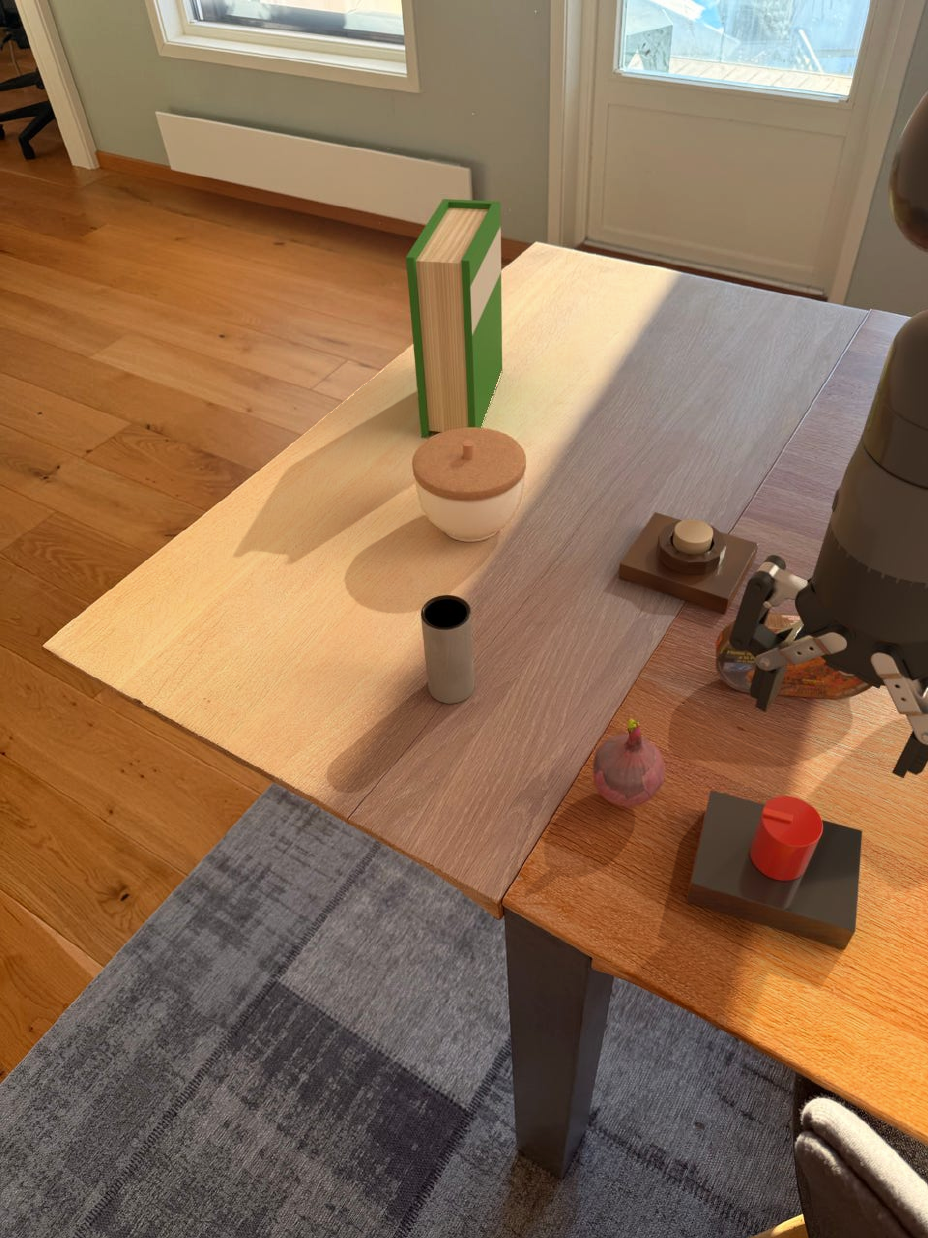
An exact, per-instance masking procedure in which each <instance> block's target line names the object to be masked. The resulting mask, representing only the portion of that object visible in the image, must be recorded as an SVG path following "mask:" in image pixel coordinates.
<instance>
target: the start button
mask: <svg viewBox="0 0 928 1238" xmlns="http://www.w3.org/2000/svg"><path fill="white" fill-rule="evenodd" d="M682 520H683V521H681V522H679V523H678V524H677V525H676V526H675V529H674V535H673V545H674V547H675V548H676V549H677V550H678V551H680V552H683V553H686V554H689V555H699V554H703V553H706V552H707V551H708V550H709V549H710V547H711V542H712V537H713V530H712V528H711V527H710V526H709V525H708V524H709V523H707V522H705V521H703V520H701V519H696V518H695V519H694V518H689V519H682Z"/></svg>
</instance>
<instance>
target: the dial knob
mask: <svg viewBox="0 0 928 1238" xmlns="http://www.w3.org/2000/svg"><path fill="white" fill-rule="evenodd" d="M822 820H823V819H822V817H821V815H820V813H819V812H818V811H817V809H815V807H814V806H813V805H812V804H810V803H809V802H807V801H806V800H804V799H802V798H798V797H795V796H791V795H782V796H777V797H774V798H771V799H770V800H768V801H767V802H766V803H765V806H764V808H763V810H762V813H761V816H760V819H759V821H758V824H757V827H756V830H755V833H754V836H753V839H752V842H751V845H750V856H751V859H752V861H753V863H754V865H755V866H756V867H757V869H758V870H759V871H761V872H762V873H763V874H764V875H766V876H768V877H770V878H772V879H775V880H780V881H790V880H794V879H797V878H798V877H800V876H801V875H803V873H804V872H805V871H806V869H807V867H808V864H809V862H810V860H811V858H812V855H813V853H814V851H815V849H816V846H817V844H818V842H819V840H820V837H821V835H822V832H823V823H822Z"/></svg>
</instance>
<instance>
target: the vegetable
mask: <svg viewBox="0 0 928 1238" xmlns="http://www.w3.org/2000/svg"><path fill="white" fill-rule="evenodd" d="M627 724H628V727H627V732H628V733H622V734H620V733H619V734H616V735H613V736H610V737H608V738H607V739H605V740H604V741H603V742H602V743H601V744H600V745H599V746H598V747H597V748H596V751H595V753H594V756H593V760H592V777H593V782H594V784H595V787H596V789H597V792H598V793H599V794H600V795H601V796H602V797H603V798H604V800H606V801H608V802H610V803H611V804H613V805H617V806H619V807H627V808H628V807H629V808H631V807H637V806H640V805H644V804H645V803H647V802H649V801H650V800H652V799H653V798H654V797H655V796H656V795H657V793H658V792H659V791H660V789H661V788H662V787H663V784H664V782H665V778H666V765H665V761H664V759H663V755H662V753H661V751H660V750H659V748H658V747H657V746H656V745H655V744H654V742H652V741H650V740H649V739H647V738H646V737H643V736H642V731H641V726H640V722H639V721H637V722H636V720H634V719H633V718H629V719H628V721H627Z"/></svg>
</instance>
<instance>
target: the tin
mask: <svg viewBox="0 0 928 1238" xmlns="http://www.w3.org/2000/svg"><path fill="white" fill-rule="evenodd" d="M800 619H801V618H800V616H799V614H791V613H790V614H789V613H775V612H769V615H768V617H767V620H766V623H765V626H766V627H768V628H769V629H770V630H772V631H773V632H776V631H778V630H781V629H783V628H785V627H788V626H790V625H793V624H795V623H796V622H798V621H799V620H800ZM734 623H735V620H733V621H731V622H730V623H729V624H728V625H726V626H725V627H724V628H723V629H722V630H721V631H720V633H719V635H718V637H717V640H716V642H715V669H716V672H717V675H718V676H719V678H720V680H722V682H723V683H725V684H726V685H727V686H728V687H731V688H732V689H734V690H735V691H738V692H742V693H746V694H750V686H751V683H752V680H753V676H754V672H755V668H756V663H755V657H754V656H753V655H752V654H751V653H750V652H748V651H747V650H745V651H738V650H736V649H734V648H733V647H732V646H731V645H730V643H729V638H730V635H731V632H732V629H733V626H734ZM825 662H826V661H825V660H824V659H823V658H821V657H817V658H814V659H811V660H809V661H806V662H803V663H800V664H798V665H795V666H792V665H791V663H790V664H788V666H787V669H786V672H785V676H784V679H783V682H782V685H781V688H780V691H779V693H778V695H777V696H780V697H781V696H782V697H797V698H799V697H800V698H809V699H810V698H811V699H823V700H824V699H825V700H840V699H846V698H847V699H848V698H851V697H855V696H858V695H859V694H863V693H864V692H866V691H868V690H870V689H871V688H872V687H873V686H871V685H869V684H867V683H865V682H863V681H862V680H860V679H859V678H857V677H856V676H854V675H853V674H850V673H846V672H842V671H838V670H835V669H833V668H831V667H829V666H826V665H825Z"/></svg>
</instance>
